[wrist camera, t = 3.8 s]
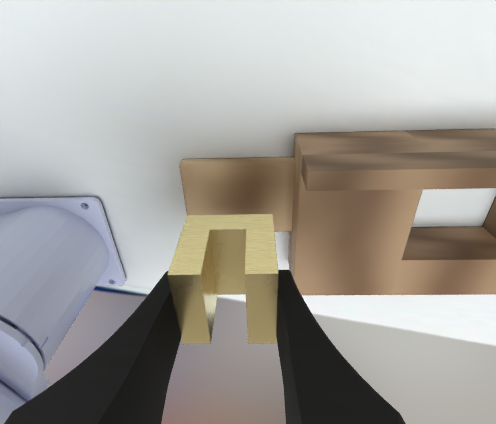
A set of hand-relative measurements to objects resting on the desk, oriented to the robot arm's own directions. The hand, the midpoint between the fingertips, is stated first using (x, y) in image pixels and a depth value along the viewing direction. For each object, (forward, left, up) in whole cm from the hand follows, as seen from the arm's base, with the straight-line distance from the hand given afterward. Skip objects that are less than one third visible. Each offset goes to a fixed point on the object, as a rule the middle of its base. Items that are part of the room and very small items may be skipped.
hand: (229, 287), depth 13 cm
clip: (0, 0, -3) cm, 3 cm away
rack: (+7, -1, -9) cm, 11 cm away
